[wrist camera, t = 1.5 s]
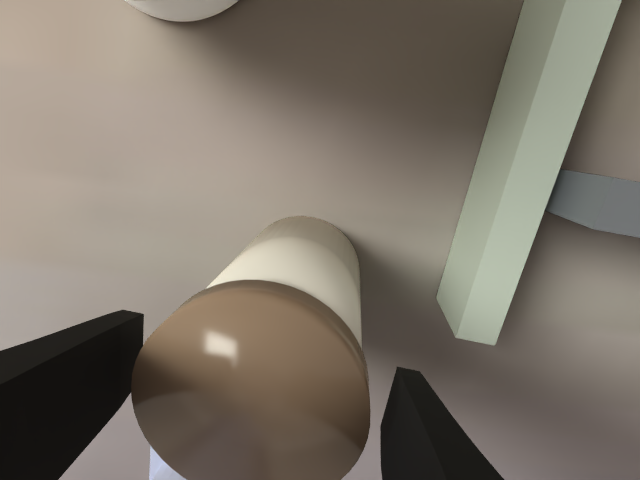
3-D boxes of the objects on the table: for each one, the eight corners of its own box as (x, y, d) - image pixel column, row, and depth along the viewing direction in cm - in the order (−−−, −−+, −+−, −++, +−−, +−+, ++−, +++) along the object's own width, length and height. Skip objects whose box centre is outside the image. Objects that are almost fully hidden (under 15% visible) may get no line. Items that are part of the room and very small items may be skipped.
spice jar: (349, 334, 18) (344, 525, 9) (238, 311, 18) (129, 475, 9) (374, 225, 16) (396, 331, 7) (251, 202, 16) (132, 277, 8)
